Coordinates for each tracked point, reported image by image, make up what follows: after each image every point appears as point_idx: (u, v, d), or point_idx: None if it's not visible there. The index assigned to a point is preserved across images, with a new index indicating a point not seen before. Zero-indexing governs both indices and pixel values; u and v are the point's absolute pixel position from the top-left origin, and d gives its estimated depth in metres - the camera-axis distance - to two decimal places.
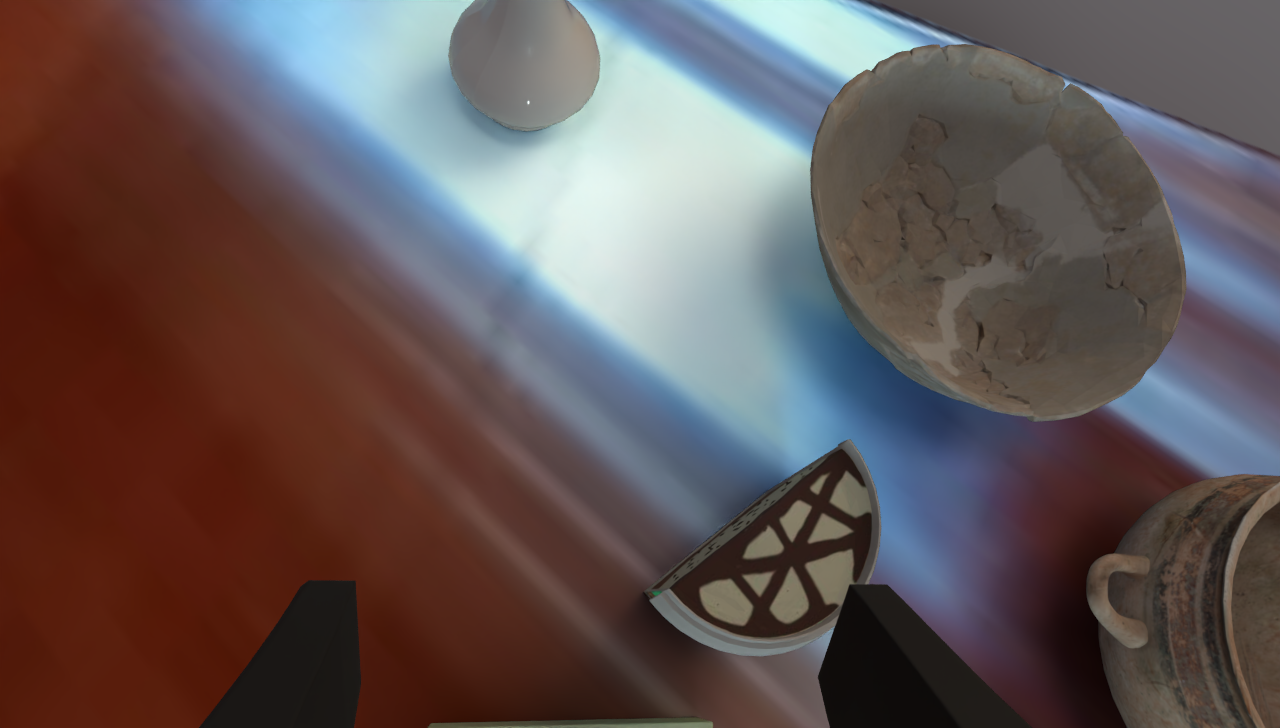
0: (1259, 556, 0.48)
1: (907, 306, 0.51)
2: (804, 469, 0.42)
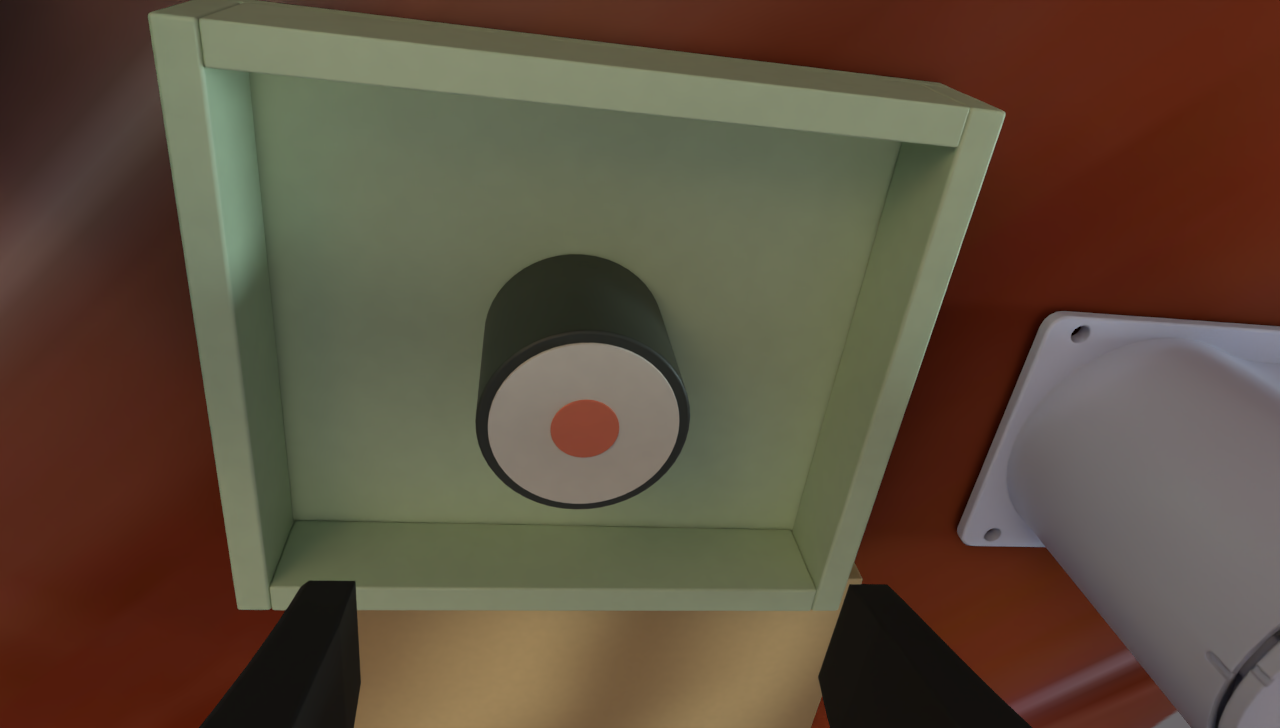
0: None
1: None
2: None
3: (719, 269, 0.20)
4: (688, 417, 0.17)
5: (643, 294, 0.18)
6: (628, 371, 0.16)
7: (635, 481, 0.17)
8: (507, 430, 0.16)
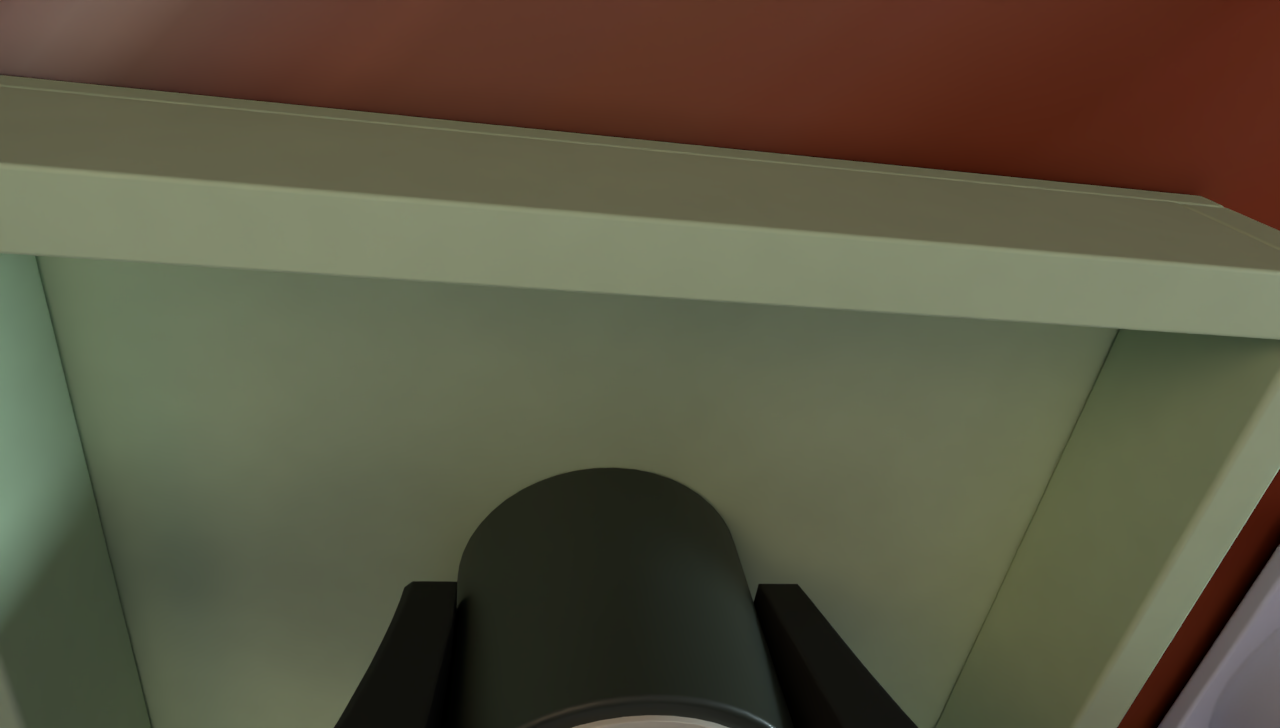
0: None
1: None
2: None
3: (828, 479, 0.12)
4: None
5: (715, 542, 0.11)
6: None
7: None
8: None
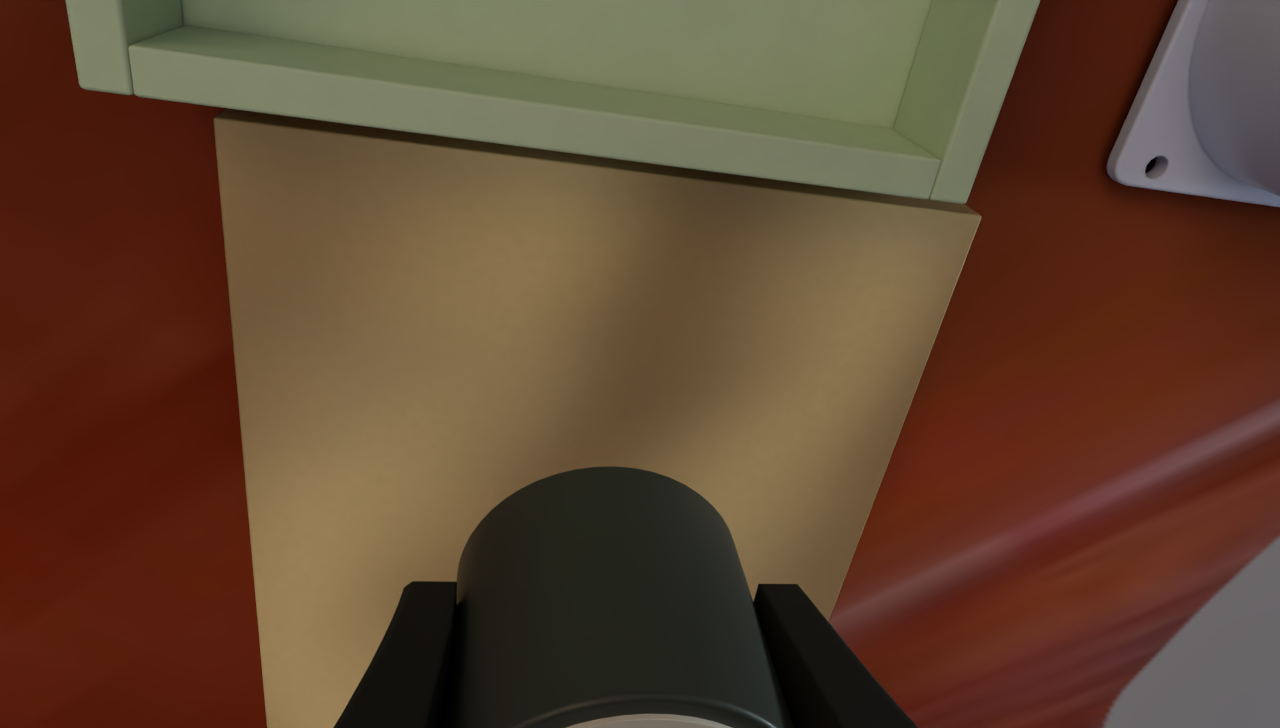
0: None
1: None
2: None
3: None
4: None
5: (715, 540, 0.11)
6: None
7: None
8: None
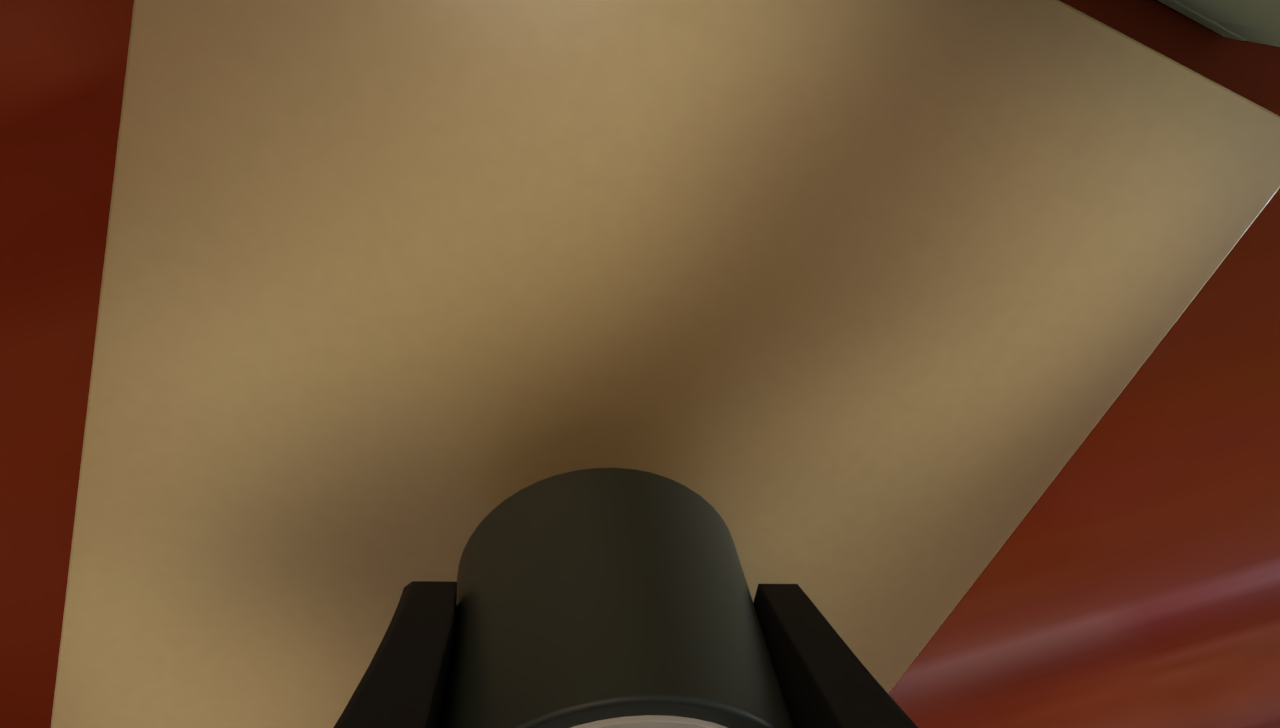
0: None
1: None
2: None
3: None
4: None
5: (714, 542, 0.11)
6: None
7: None
8: None
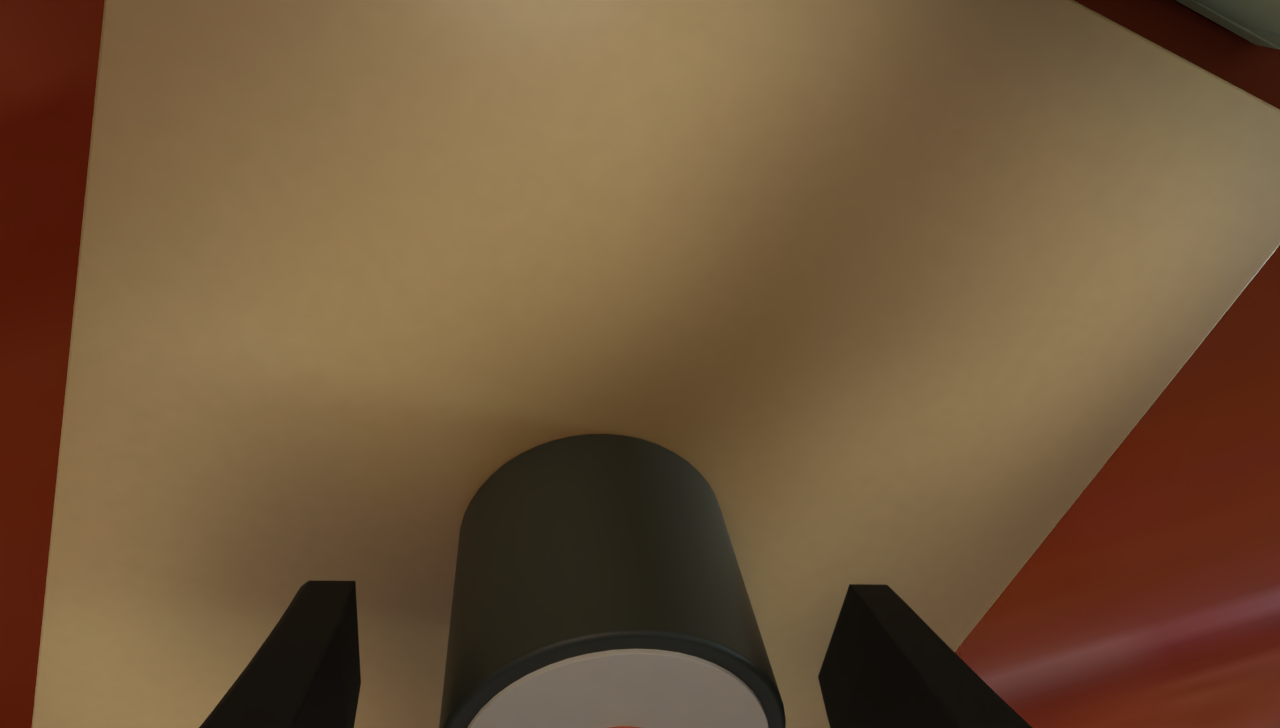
0: None
1: None
2: None
3: None
4: None
5: (700, 502, 0.12)
6: (691, 685, 0.09)
7: None
8: None
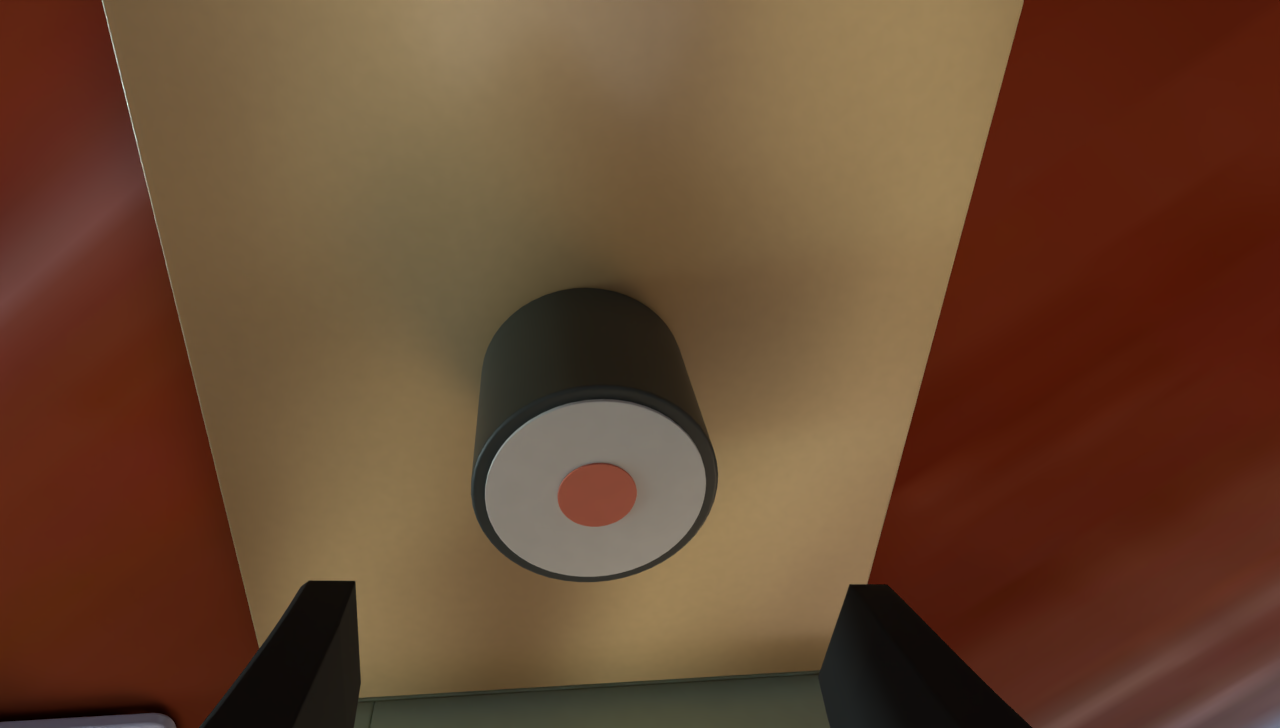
0: None
1: None
2: None
3: None
4: (486, 533, 0.14)
5: None
6: (575, 561, 0.15)
7: (507, 445, 0.14)
8: (681, 469, 0.14)
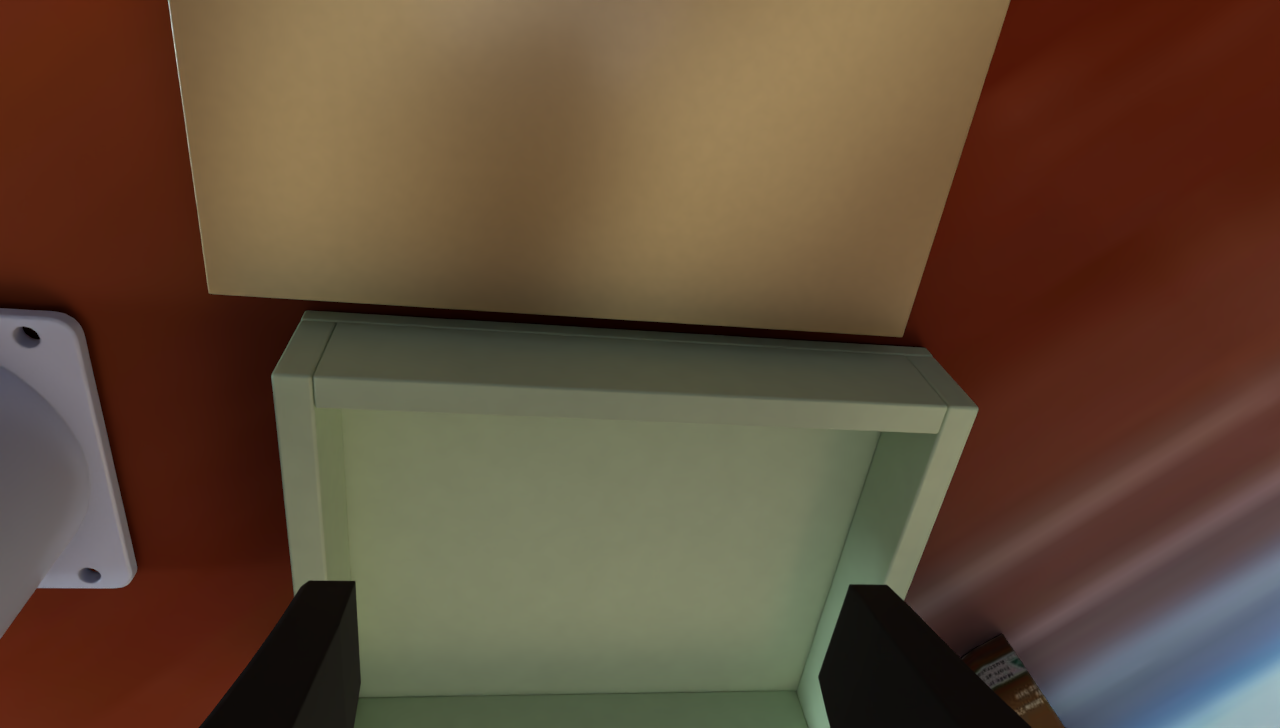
0: None
1: None
2: None
3: (485, 602, 0.23)
4: None
5: None
6: None
7: None
8: None
